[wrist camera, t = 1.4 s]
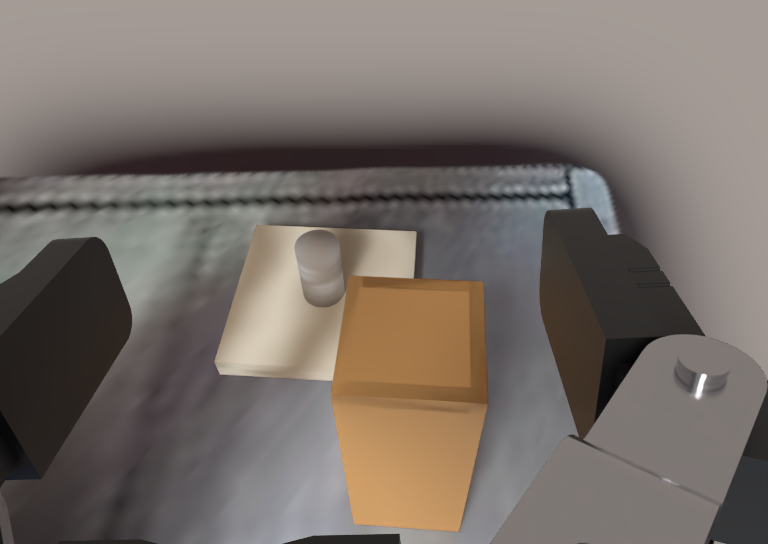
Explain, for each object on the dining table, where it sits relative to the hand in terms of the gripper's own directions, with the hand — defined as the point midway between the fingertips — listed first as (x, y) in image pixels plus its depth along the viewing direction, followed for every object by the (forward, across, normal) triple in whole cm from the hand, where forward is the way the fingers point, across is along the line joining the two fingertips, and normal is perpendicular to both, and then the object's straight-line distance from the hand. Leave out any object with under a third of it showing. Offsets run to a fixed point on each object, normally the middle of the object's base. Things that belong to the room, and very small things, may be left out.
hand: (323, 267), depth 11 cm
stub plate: (+25, +5, +18) cm, 31 cm away
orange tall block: (+13, 0, +22) cm, 26 cm away
